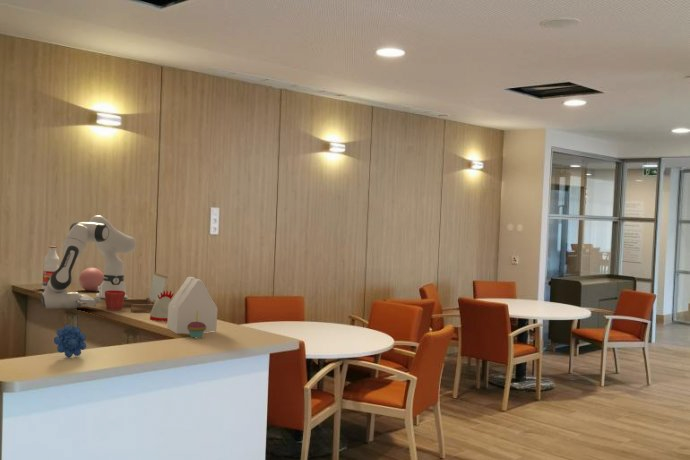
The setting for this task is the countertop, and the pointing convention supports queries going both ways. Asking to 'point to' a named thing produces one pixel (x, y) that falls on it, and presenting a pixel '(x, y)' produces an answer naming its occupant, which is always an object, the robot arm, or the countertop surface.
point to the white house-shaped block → (192, 307)
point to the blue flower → (70, 341)
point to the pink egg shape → (91, 279)
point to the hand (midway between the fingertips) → (100, 300)
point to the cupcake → (196, 328)
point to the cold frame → (139, 304)
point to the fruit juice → (50, 265)
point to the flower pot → (114, 299)
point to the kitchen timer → (161, 307)
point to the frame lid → (157, 286)
